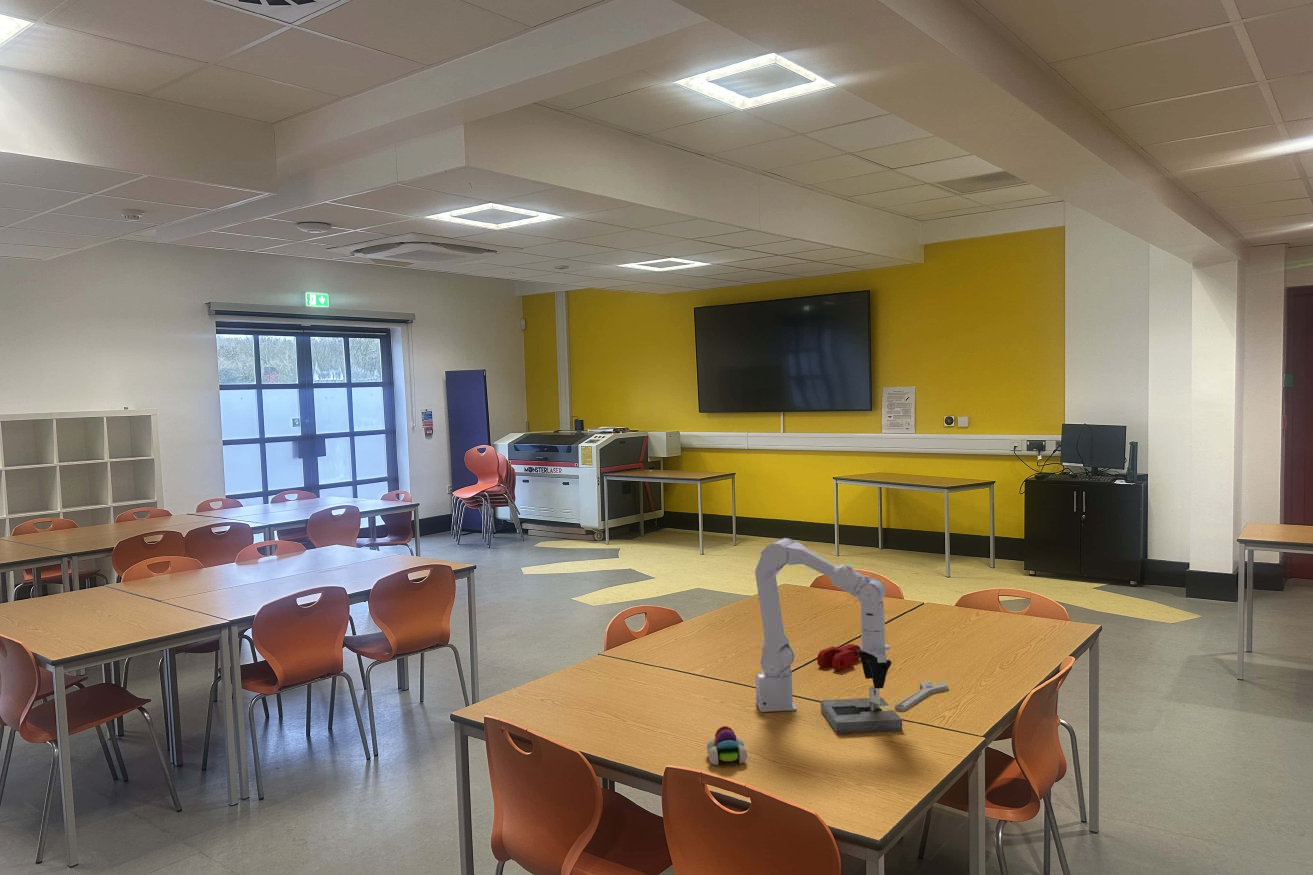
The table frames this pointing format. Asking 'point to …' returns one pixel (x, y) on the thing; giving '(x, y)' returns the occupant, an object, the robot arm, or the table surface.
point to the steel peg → (874, 699)
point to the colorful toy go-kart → (726, 747)
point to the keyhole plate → (860, 716)
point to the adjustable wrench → (920, 695)
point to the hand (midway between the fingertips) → (874, 682)
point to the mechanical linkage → (838, 657)
